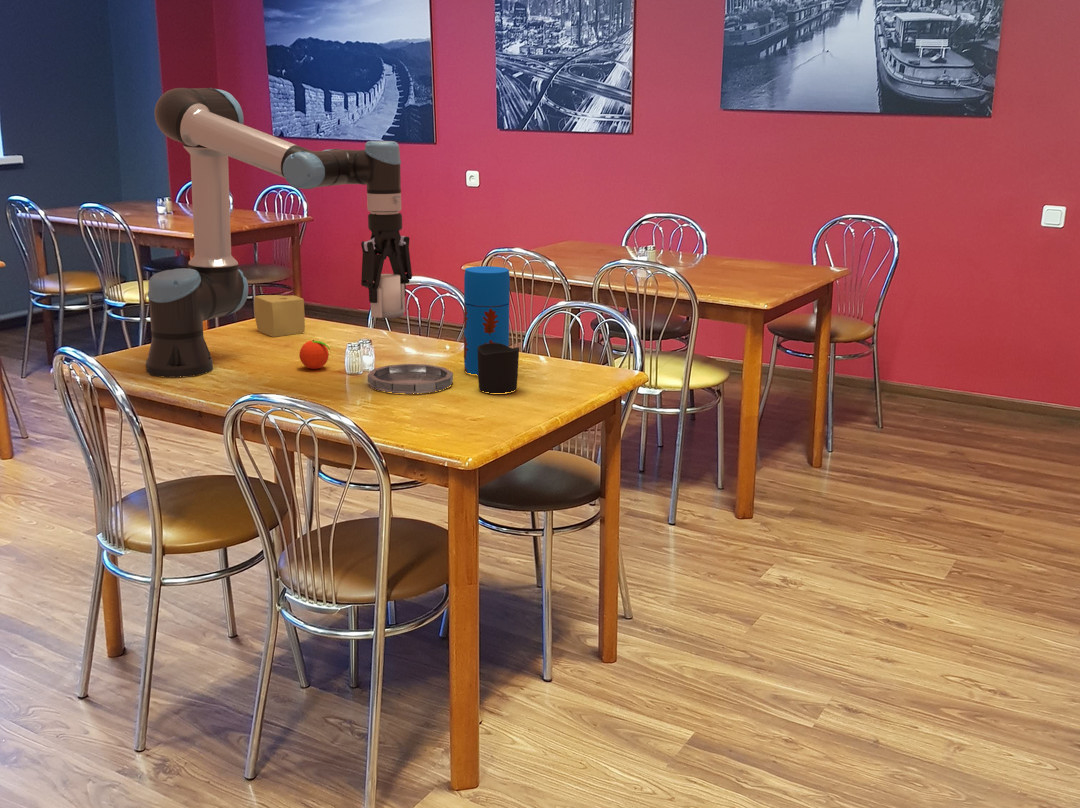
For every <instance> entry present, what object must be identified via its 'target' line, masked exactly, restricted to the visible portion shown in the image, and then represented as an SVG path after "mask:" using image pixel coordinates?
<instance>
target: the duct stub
mask: <svg viewBox="0 0 1080 808" xmlns="http://www.w3.org/2000/svg"><path fill="white" fill-rule="evenodd" d="M373 283H374V281H373ZM378 288H381V293H382V317H381V318H380V319H394V318H401V317H403V316H405V312H404V309H402V308H401V290H400V275H398V274H394V273H381V277H380V282H379V287H378ZM376 318H378V317H376ZM378 319H379V318H378Z"/></svg>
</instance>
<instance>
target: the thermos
mask: <svg viewBox="0 0 1080 808" xmlns="http://www.w3.org/2000/svg"><path fill="white" fill-rule="evenodd" d="M463 274H464V276H463V280H464V281H463V287H464V288H463V291H464V293H463V294H464V295H463V296H464V297H463V303H464V304H463V361H464V362H463V363H464V372H465V371H466V372H467V373H471V374H477V375H478V350H477V347H478V346H479V345H482V344H488V343H500V344H504V345H506V346H508V347H510V345H509V344H510V294H511V293H510V292H511V291H510V290H511V288H510V287H511V286H510V284H511V283H510V281H511V276H510V270H509V268H506V267H501V266H493V265H492V266H491V265H488V266H487V265H483V266H482V265H481V266H479V265H478V266H470V267H467V268H464V273H463Z"/></svg>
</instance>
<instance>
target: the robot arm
mask: <svg viewBox="0 0 1080 808" xmlns="http://www.w3.org/2000/svg"><path fill="white" fill-rule="evenodd" d="M154 119H155V123H156V125H157V127H158V129H159V131H161V133H162V134H163V135H165V136H166V137H168V138H169V139H171V140H173V141H176V142H178V143H181V144H182V145H183V148H184V149H185V151H186V152H187V153H188V154H189V155H190V156H189V157H190V174H191V177H190V178H191V197H192V199H191V200H192V201H191V202H192V224H193V244H194V245H193V247H194V255H193V257H191V259H190V260H189V261H188V268H184V267H183V268H182V267H181V268H174V269H167V270H162V271H159V272H156V273H155V274H152V276H150V278H149V280H148V287H147V288H148V291H147V298H148V308H149V309H148V310H149V319H150V321H149V322H150V330H151V331H150V333H151V343H150V346H149V350H148V354H147V359H146V362H145V367H146V368H145V369H146V373H147V374H149V375H151V376H153V375H154V376H153V377H159V376H164V377H163V378H184V377H183V376H188V377H194V376H193V375H195V376H199V374H200V375H204V374H207V373H209V371H210V372H211V371H213V369H214V363H213V362H214V361H213V357H212V356H211V352H210V350H209V347H208V345H207V342H206V340H205V337H204V321H209V320H212V319H216V318H222V317H226V316H229V315H232V314H233V313H236V312H238V311H239V310H240V309H241V308H242V307H244V305H245V303H246V301H247V299H248V295H249V284H248V279H247V278H246V276H244V272H243V271H242V270H241V269H239V263H238V262H239V261H238V260H236V259H235V258H234V256H233V255H232V241H231V240H232V238H231V236H232V235H231V233H232V232H231V231H232V230H231V206H230V178H229V177H230V176H229V175H230V174H229V171H230V169H229V157H230V158H232V159H235V160H238V161H240V162H243V163H245V164H248V165H251V166H253V167H256V168H258V169H261V170H263V171H266V172H269V173H271V174H274V175H277V176H279V177H281V178H284V179H285V181H286V182H287V183H288V184H289V186H291V187H293V188H295V189H301V190H302V189H304V190H311V189H315V188H322V187H329V186H341V185H363V186H364V185H366V192H367V193H366V201H367V202H366V203H367V206H366V207H367V211H368V212H370V213H368V214H367V224H368V225H367V227H368V230H369V231H370V232H371V235H370V239H368V240H366V241H364V240H363V241H361V243H360V245H361V252H362V256H361V257H362V258H361V263H362V264H361V281H360V282H361V283H360V285H361V286H362V287H364V288H367V289H368V301H369V303H370V317H371V318H377V317H378V319H382V318H381V317H382V293H381V288H378V287H379V282H380V277H381V274H383V273H382V272H383V268H384V263H385V260H387V257H388V260H389V264H390V266H391V270H392V274H398V275H400V290H401V308H402V309H404V313H406V296H407V291H406V290H407V288H406V286H407V285H406V284H409V283H410V280H412V279H413V273H412V265H411V264H412V263H411V256H410V247H409V246H410V236H405V235H401V234H400V233H401V232H400V231H401V230H403V214H401V212H400V211H402V188H401V187H402V185H401V181H402V179H401V164H402V161H401V154H400V153H401V152H400V145H399V143H398V142H396V141H393V140H384V141H381V140H371V141H367V142H365V146H364V149H361V150H360V149H359V150H357V149H340V148H330V149H324V150H310V149H308V148H306V147H303V146H300V145H297V144H295V143H292V142H290V141H287V140H285V139H283V138H279V137H277V136H274V135H271V134H269V133H267V132H264V131H261V130H259V129H256V128H253V127H250V126H248V125H245V124H244V121H245V120H244V113H243V110H242V106H241V105H240V103H239V102H238V100H237V99H236V98H235V97H234V96H233V95H232V94H231V93H230V92H228V91H226V90H223V89H218V88H212V87H205V88H203V87H202V88H201V87H199V88H196V87H195V88H194V87H193V88H189V87H188V88H186V87H177V88H172V89H169V90H167V91H165V92H164V93H163V94H161V95H160V97H159V98H158V100H157V101H156V103H155V107H154ZM373 281H374V282H373ZM206 372H207V373H206ZM180 376H181V377H180Z"/></svg>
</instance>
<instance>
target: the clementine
mask: <svg viewBox="0 0 1080 808" xmlns="http://www.w3.org/2000/svg"><path fill="white" fill-rule="evenodd" d="M329 352H330V353H332V352H331V349H330V347H329V345H327V344H326V343H325V342H323V341H320V340H319V341H318V340H314V339H312V340H309V341H306V342H305V343H304V344H303V345H301V346H300V350H299V360H300V362H301V364H302V365H303V367H306V368H307V369H310V370H318V369H321V368H322V367H324V366H325V365H326V364H327V362H328V359H329Z"/></svg>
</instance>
